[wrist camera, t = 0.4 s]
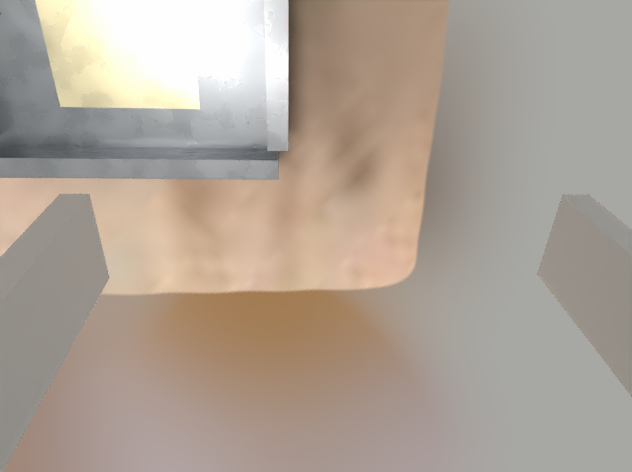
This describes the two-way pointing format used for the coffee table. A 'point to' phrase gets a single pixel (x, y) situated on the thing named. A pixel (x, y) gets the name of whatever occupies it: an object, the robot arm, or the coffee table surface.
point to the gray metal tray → (143, 88)
